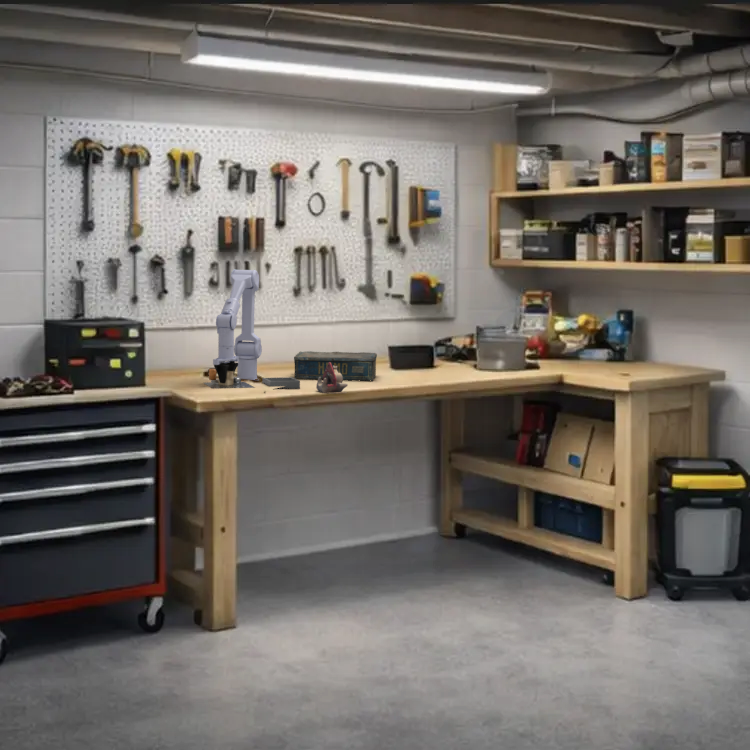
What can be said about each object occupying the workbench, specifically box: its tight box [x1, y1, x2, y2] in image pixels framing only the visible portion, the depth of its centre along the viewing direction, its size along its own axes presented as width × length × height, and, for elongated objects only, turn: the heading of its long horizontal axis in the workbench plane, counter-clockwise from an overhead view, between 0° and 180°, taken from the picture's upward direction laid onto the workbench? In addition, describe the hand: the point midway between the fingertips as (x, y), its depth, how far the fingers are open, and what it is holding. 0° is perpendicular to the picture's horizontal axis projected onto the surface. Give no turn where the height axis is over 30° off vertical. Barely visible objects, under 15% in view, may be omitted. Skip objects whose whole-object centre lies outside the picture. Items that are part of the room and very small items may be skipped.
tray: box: [262, 376, 301, 390], centre depth 448 cm, size 12×12×3 cm
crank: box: [208, 368, 242, 383], centre depth 447 cm, size 12×4×5 cm, turn 109°
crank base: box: [202, 381, 256, 390], centre depth 442 cm, size 18×16×1 cm
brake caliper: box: [316, 362, 348, 395], centre depth 439 cm, size 11×11×12 cm
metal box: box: [293, 350, 378, 382], centre depth 481 cm, size 21×32×10 cm, turn 87°
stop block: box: [219, 371, 234, 386], centre depth 442 cm, size 4×4×5 cm
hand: (225, 382), depth 442 cm, fingers closed on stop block, 4 cm apart
